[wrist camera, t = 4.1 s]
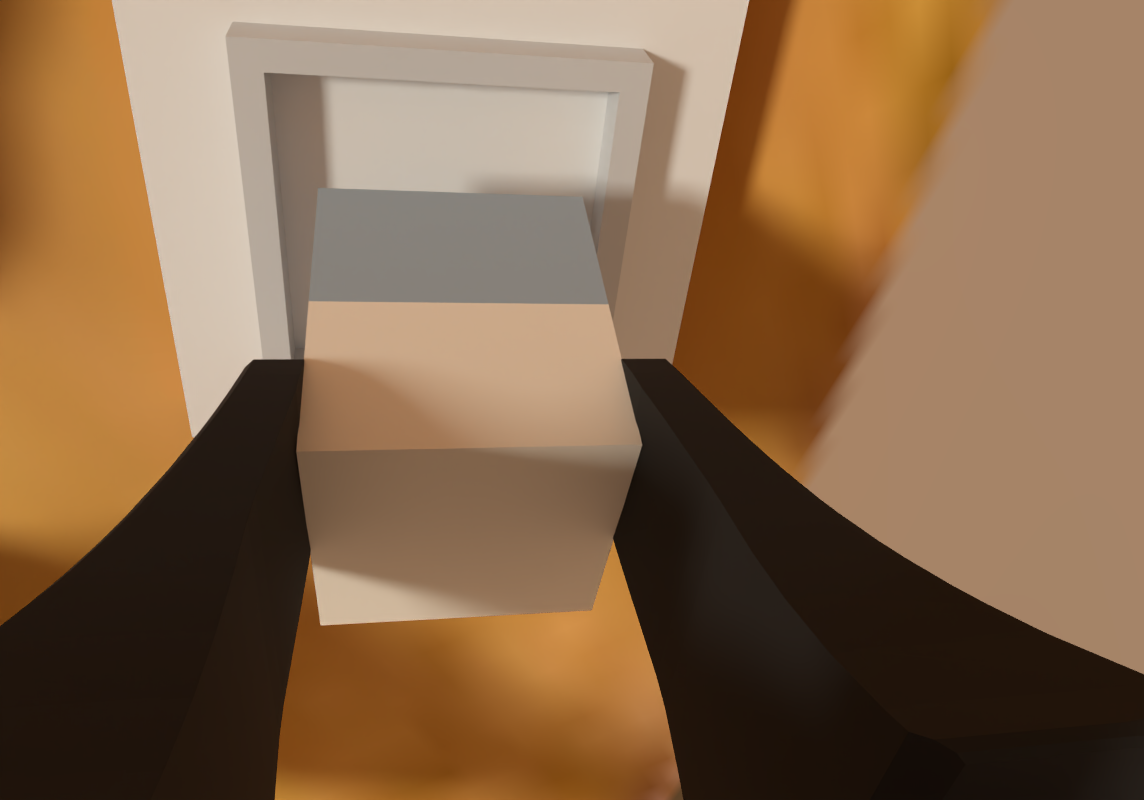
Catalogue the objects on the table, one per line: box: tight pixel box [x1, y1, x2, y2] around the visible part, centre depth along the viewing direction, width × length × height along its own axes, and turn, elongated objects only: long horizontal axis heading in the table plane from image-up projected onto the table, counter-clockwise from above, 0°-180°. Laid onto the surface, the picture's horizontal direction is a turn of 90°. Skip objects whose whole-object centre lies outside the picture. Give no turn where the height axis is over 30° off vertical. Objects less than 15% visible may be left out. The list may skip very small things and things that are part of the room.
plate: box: [112, 0, 749, 437], centre depth 17 cm, size 10×10×2 cm
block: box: [296, 188, 642, 625], centre depth 14 cm, size 4×4×5 cm
